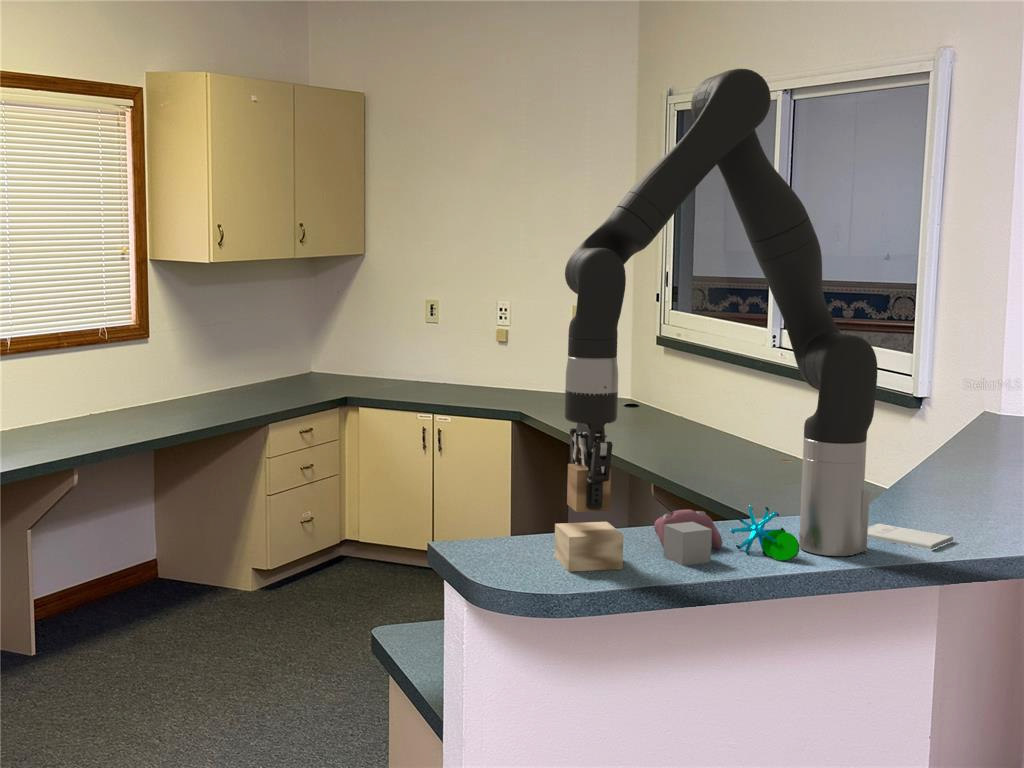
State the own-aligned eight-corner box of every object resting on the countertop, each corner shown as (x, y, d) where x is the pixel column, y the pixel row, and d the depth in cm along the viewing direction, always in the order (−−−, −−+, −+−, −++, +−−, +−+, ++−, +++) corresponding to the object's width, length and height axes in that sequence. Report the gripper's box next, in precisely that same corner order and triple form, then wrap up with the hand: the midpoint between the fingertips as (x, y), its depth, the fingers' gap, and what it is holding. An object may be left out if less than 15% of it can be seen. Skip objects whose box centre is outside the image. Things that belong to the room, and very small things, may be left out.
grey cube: (691, 554, 168) (692, 521, 167) (710, 562, 163) (711, 529, 163) (663, 557, 166) (664, 524, 165) (682, 566, 161) (683, 532, 161)
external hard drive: (930, 555, 171) (855, 540, 179) (953, 545, 177) (879, 531, 185) (931, 544, 170) (856, 530, 179) (953, 535, 176) (879, 521, 185)
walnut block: (599, 503, 164) (600, 463, 163) (609, 510, 159) (611, 469, 158) (567, 504, 163) (568, 463, 162) (576, 511, 158) (577, 470, 157)
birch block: (606, 554, 166) (606, 521, 166) (622, 568, 159) (623, 534, 158) (554, 556, 165) (555, 523, 164) (568, 571, 157) (569, 537, 156)
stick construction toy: (718, 534, 171) (749, 494, 171) (737, 551, 175) (766, 512, 176) (777, 573, 162) (809, 530, 162) (794, 590, 167) (825, 549, 167)
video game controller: (712, 554, 173) (702, 510, 176) (726, 547, 169) (717, 503, 172) (656, 559, 170) (647, 515, 172) (670, 553, 166) (660, 507, 168)
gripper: (632, 394, 153) (628, 515, 155) (602, 382, 167) (599, 493, 169) (579, 394, 151) (576, 517, 153) (553, 382, 165) (551, 495, 167)
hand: (588, 504), depth 161 cm, fingers closed on walnut block, 5 cm apart
